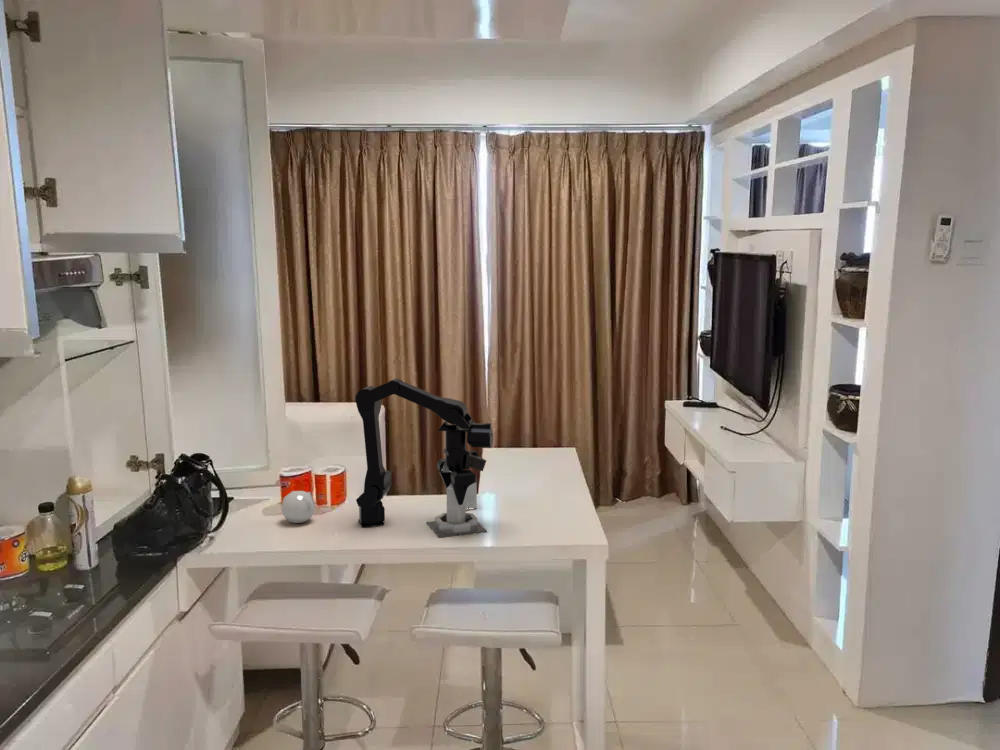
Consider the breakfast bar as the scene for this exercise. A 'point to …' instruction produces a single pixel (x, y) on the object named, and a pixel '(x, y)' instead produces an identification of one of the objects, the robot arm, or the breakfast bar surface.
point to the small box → (471, 496)
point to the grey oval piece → (298, 506)
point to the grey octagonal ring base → (455, 526)
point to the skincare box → (455, 508)
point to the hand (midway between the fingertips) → (456, 500)
